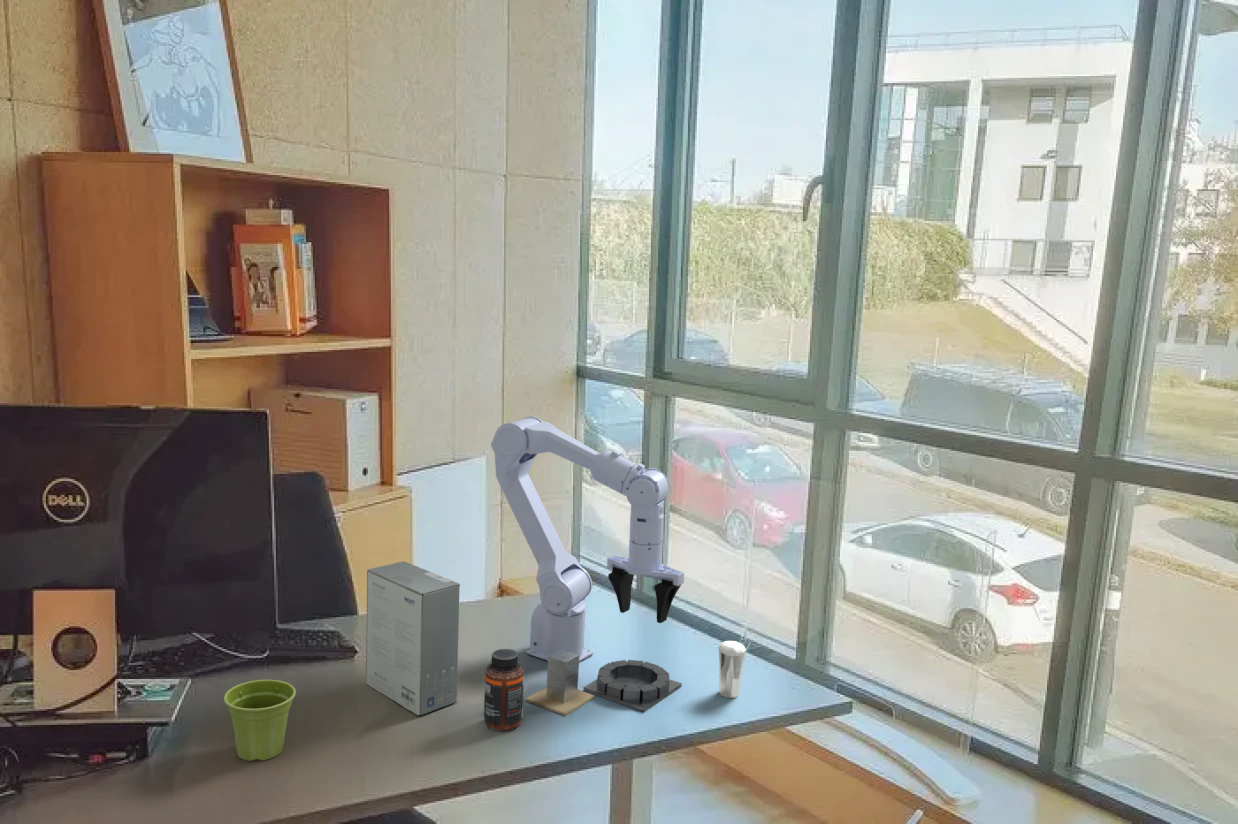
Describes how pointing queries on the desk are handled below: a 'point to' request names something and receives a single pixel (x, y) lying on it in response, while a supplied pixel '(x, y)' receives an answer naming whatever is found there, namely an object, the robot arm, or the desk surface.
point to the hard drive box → (412, 636)
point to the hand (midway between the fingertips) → (643, 616)
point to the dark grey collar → (633, 684)
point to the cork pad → (557, 706)
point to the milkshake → (730, 668)
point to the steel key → (562, 676)
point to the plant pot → (259, 717)
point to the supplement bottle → (503, 691)
